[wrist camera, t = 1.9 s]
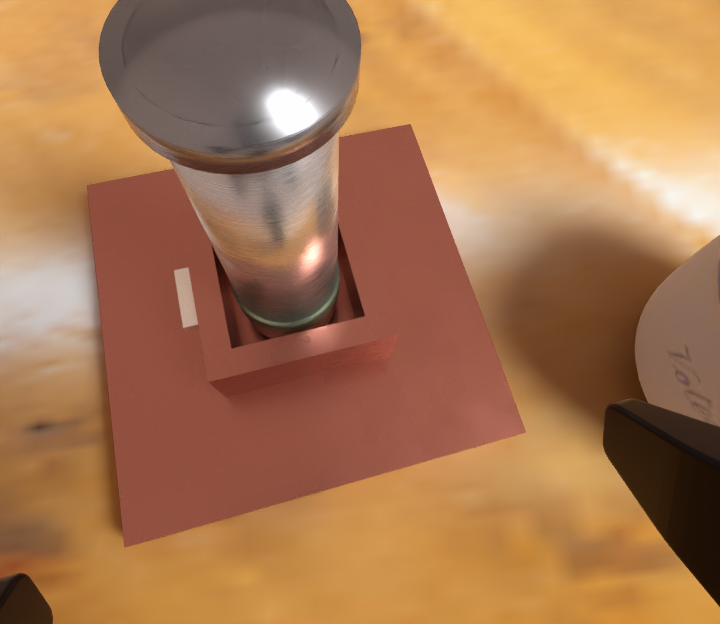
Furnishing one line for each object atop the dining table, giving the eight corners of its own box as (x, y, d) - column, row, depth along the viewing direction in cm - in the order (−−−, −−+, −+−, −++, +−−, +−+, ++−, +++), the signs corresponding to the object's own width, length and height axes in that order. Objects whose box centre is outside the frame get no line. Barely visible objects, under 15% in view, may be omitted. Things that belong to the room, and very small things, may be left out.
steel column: (358, 336, 21) (391, 117, 9) (246, 363, 20) (113, 170, 8) (331, 238, 22) (326, -64, 10) (225, 261, 22) (87, -32, 10)
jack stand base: (515, 435, 21) (557, 422, 17) (136, 544, 19) (85, 557, 15) (407, 139, 26) (420, 78, 22) (98, 199, 24) (52, 143, 20)
